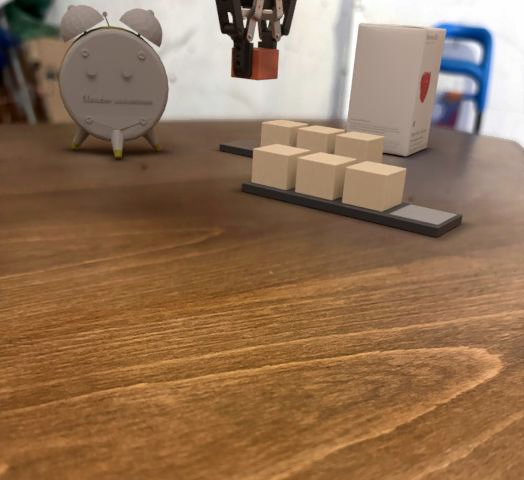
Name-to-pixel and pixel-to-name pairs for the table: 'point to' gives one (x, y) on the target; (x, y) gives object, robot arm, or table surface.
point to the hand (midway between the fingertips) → (254, 75)
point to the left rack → (312, 141)
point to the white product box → (395, 84)
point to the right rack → (343, 188)
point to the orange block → (262, 64)
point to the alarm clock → (113, 77)
